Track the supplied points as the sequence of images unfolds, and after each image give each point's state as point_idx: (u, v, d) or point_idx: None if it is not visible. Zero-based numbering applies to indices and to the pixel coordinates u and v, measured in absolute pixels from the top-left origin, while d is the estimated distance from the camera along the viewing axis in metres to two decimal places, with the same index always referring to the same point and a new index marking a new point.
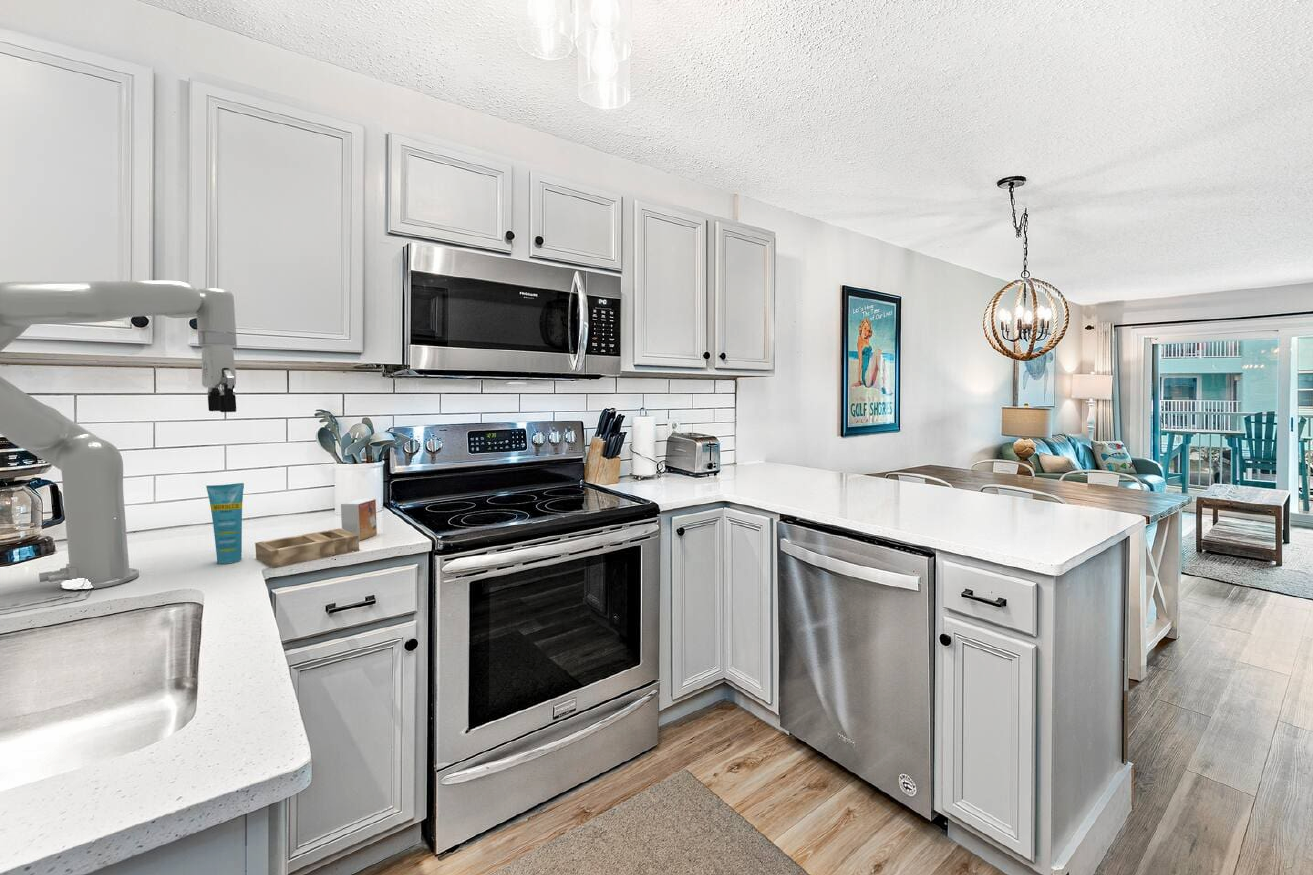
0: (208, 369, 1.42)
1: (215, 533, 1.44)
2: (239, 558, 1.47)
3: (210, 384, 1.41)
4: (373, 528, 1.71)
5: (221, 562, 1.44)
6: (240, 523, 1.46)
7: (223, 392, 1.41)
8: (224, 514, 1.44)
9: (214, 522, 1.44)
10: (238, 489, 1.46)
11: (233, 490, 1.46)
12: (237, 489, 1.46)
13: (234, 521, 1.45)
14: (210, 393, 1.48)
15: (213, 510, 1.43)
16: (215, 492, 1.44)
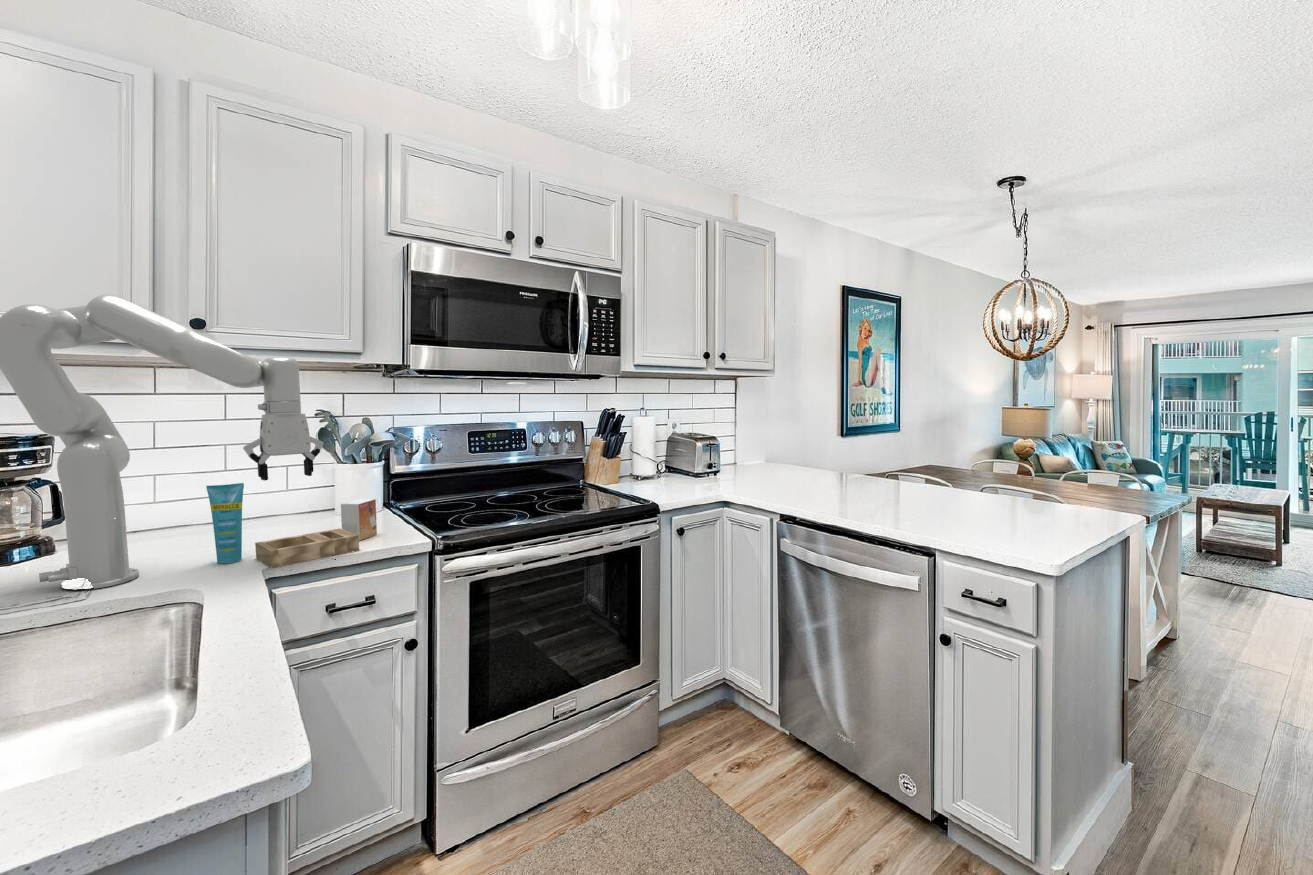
0: (299, 436, 1.47)
1: (215, 533, 1.44)
2: (239, 558, 1.47)
3: (304, 450, 1.48)
4: (373, 528, 1.71)
5: (221, 562, 1.44)
6: (240, 523, 1.46)
7: None
8: (224, 514, 1.44)
9: (214, 522, 1.44)
10: (238, 489, 1.46)
11: (233, 490, 1.46)
12: (237, 489, 1.46)
13: (234, 521, 1.45)
14: None
15: (213, 510, 1.43)
16: (215, 492, 1.44)
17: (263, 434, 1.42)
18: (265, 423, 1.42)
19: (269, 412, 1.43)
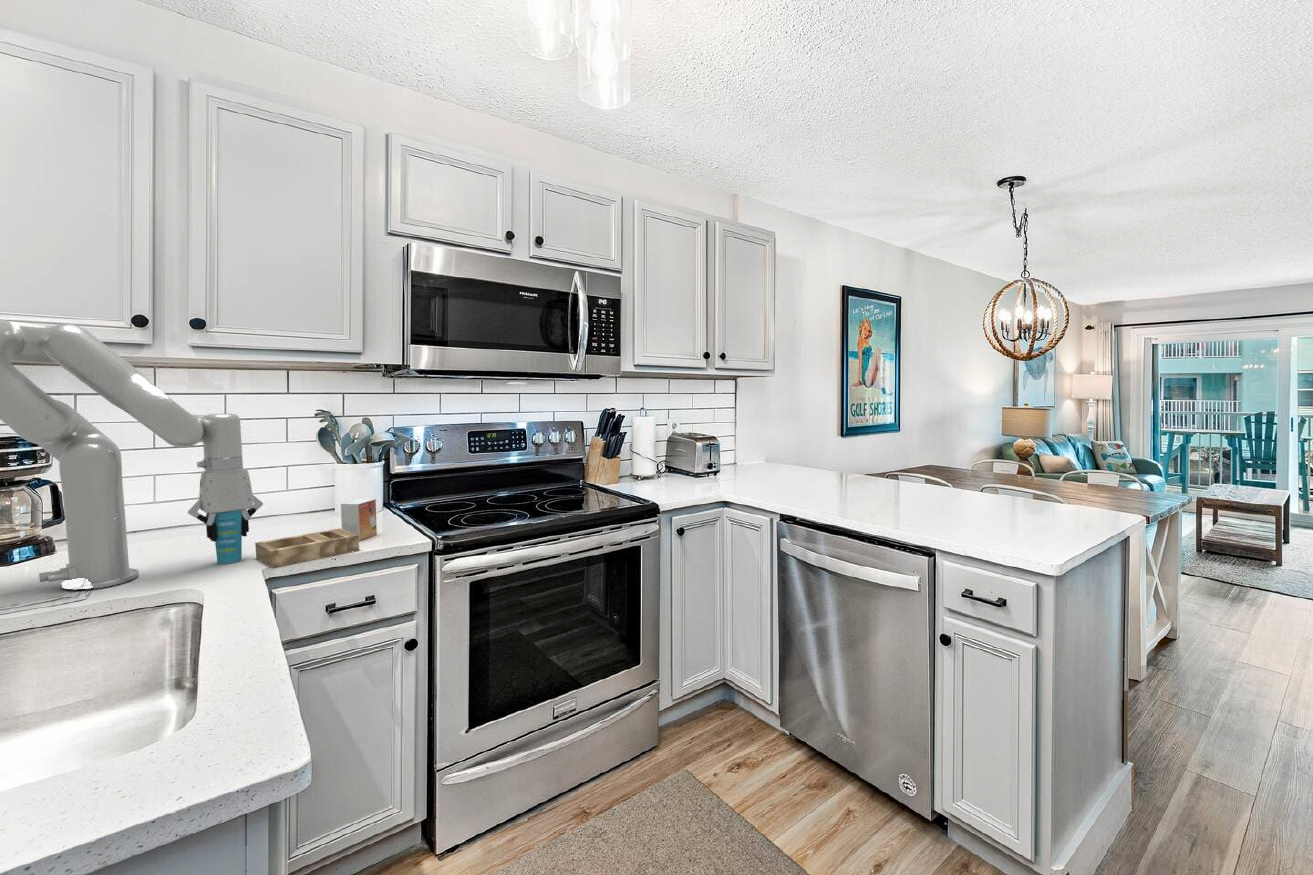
0: (240, 493, 1.45)
1: None
2: (239, 558, 1.47)
3: (245, 506, 1.46)
4: (373, 528, 1.71)
5: (221, 562, 1.44)
6: (240, 523, 1.46)
7: None
8: (224, 514, 1.44)
9: (214, 522, 1.44)
10: None
11: None
12: None
13: (234, 521, 1.45)
14: None
15: None
16: None
17: (202, 492, 1.40)
18: (204, 481, 1.40)
19: (208, 470, 1.41)
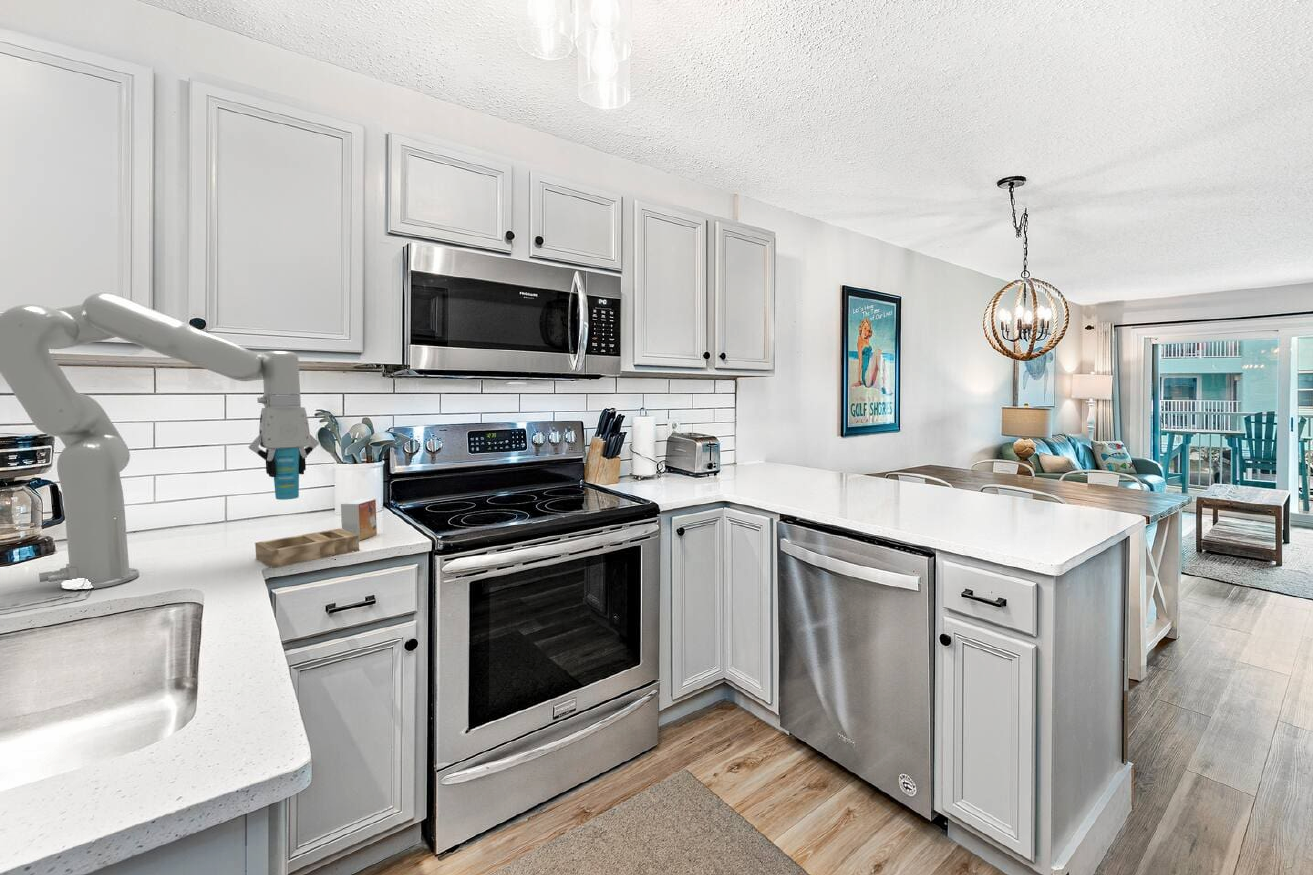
0: (299, 430, 1.47)
1: None
2: (297, 495, 1.48)
3: (303, 444, 1.48)
4: (373, 528, 1.71)
5: (280, 498, 1.46)
6: (298, 460, 1.48)
7: None
8: (283, 450, 1.46)
9: (273, 458, 1.45)
10: None
11: None
12: None
13: (292, 457, 1.47)
14: None
15: None
16: None
17: (263, 427, 1.42)
18: (265, 416, 1.42)
19: (269, 405, 1.43)
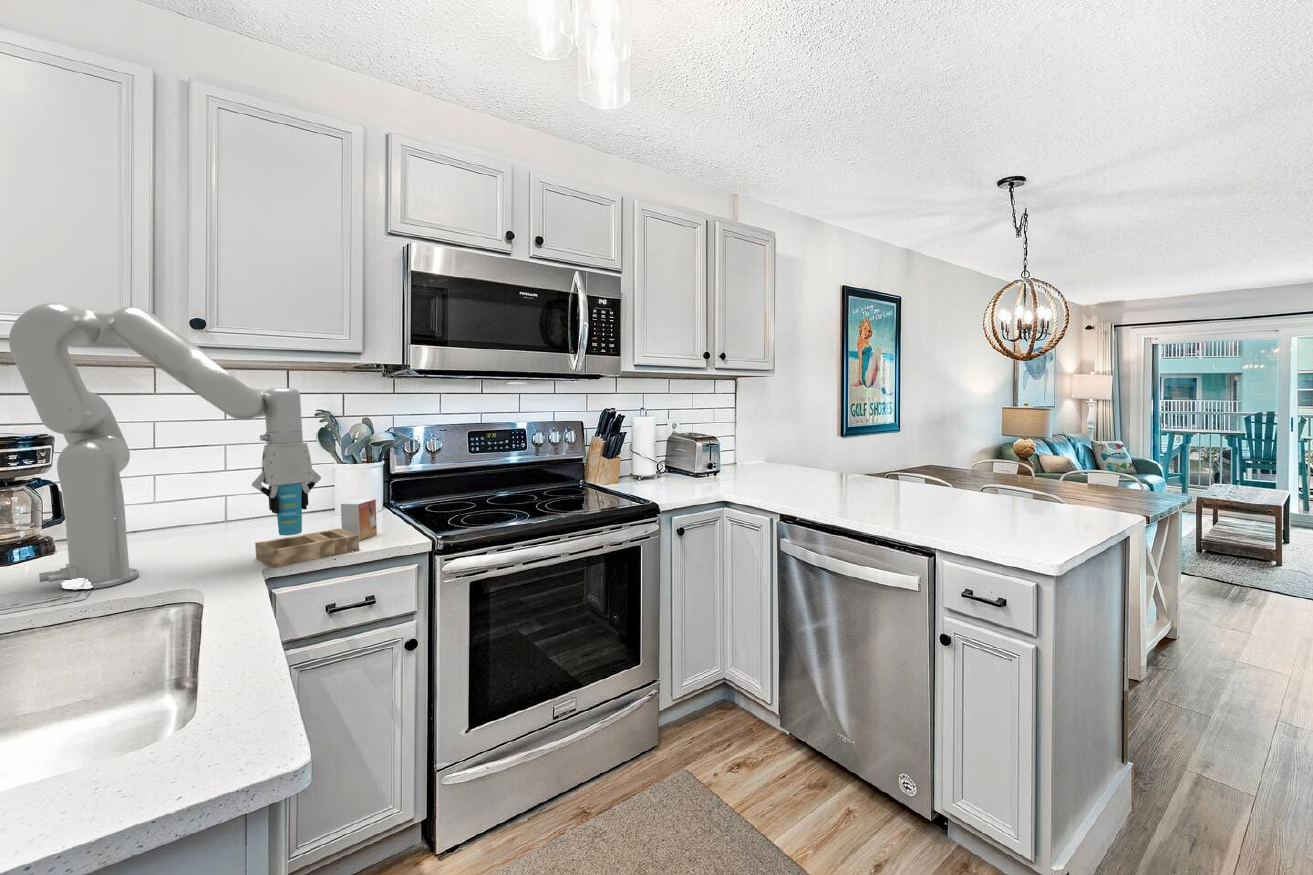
0: (301, 466, 1.48)
1: None
2: (300, 530, 1.49)
3: (306, 480, 1.48)
4: (373, 528, 1.71)
5: (283, 534, 1.47)
6: (300, 496, 1.49)
7: None
8: (286, 486, 1.47)
9: (276, 495, 1.46)
10: None
11: None
12: None
13: (295, 493, 1.48)
14: None
15: None
16: None
17: (265, 465, 1.43)
18: (267, 454, 1.43)
19: (271, 443, 1.43)
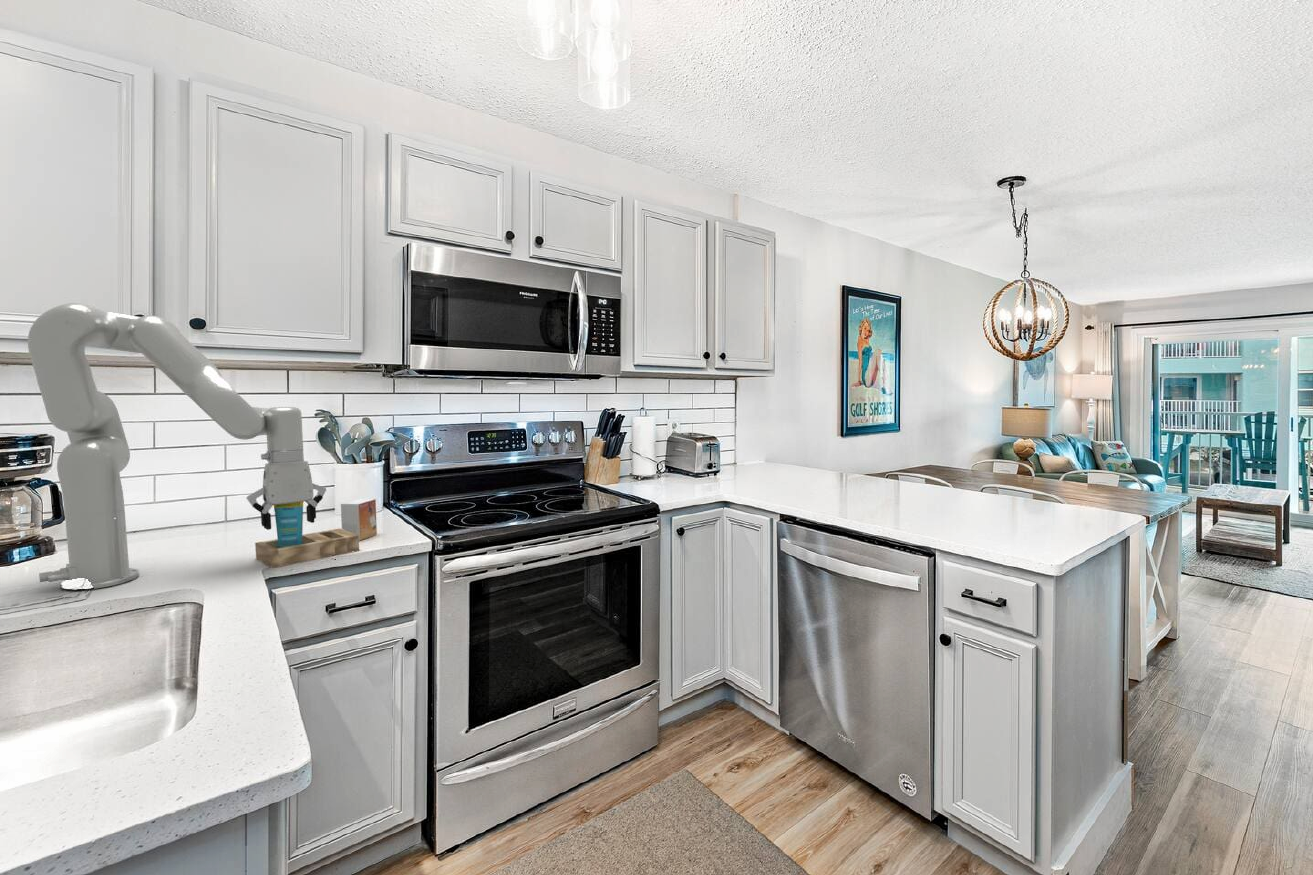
0: (302, 484, 1.48)
1: (278, 530, 1.47)
2: None
3: (306, 498, 1.49)
4: (373, 528, 1.71)
5: None
6: (301, 520, 1.49)
7: None
8: (287, 511, 1.47)
9: (277, 519, 1.47)
10: None
11: None
12: None
13: (296, 518, 1.48)
14: None
15: (276, 507, 1.46)
16: None
17: (266, 484, 1.43)
18: (268, 473, 1.43)
19: (272, 462, 1.44)
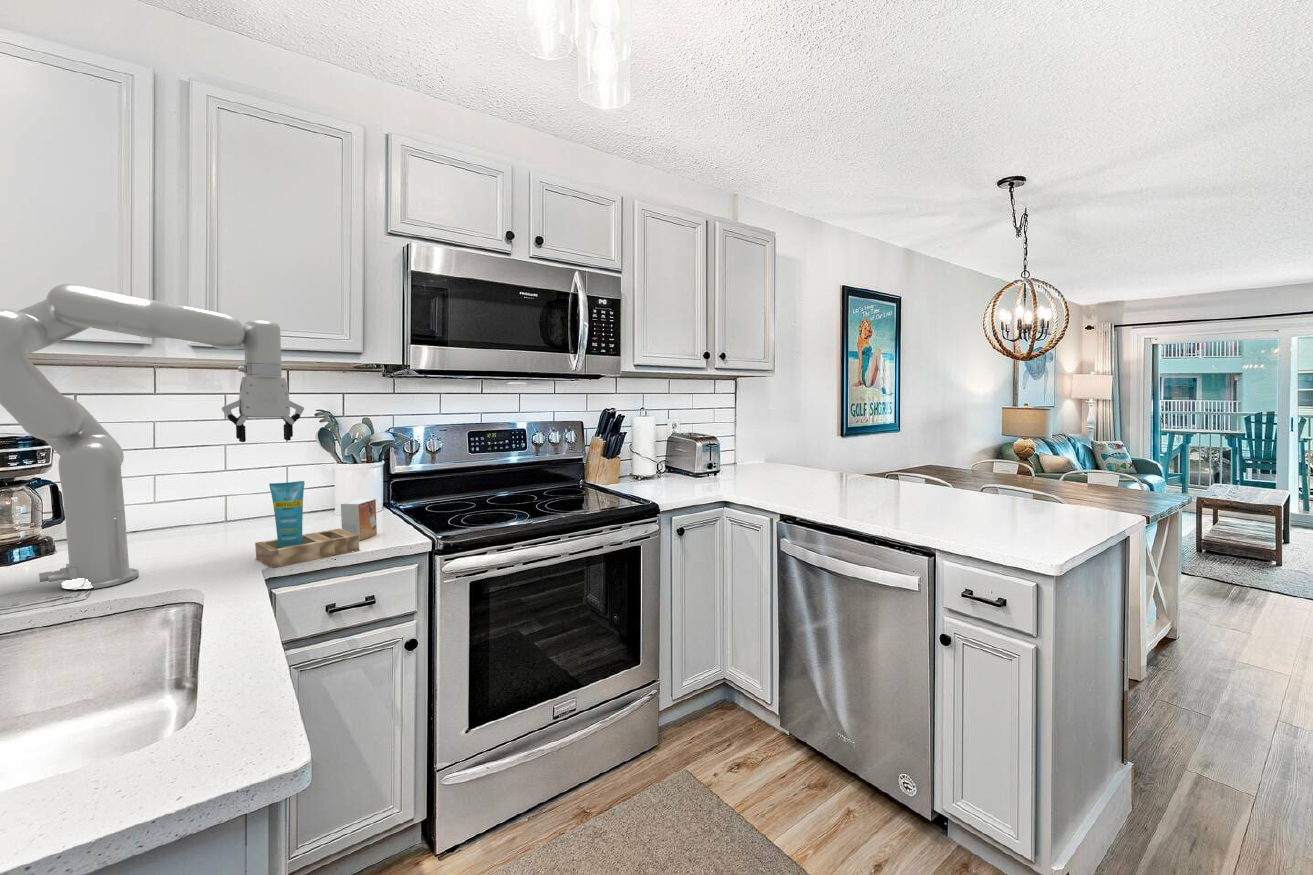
0: (278, 400, 1.47)
1: (278, 530, 1.47)
2: None
3: (283, 414, 1.48)
4: (373, 528, 1.71)
5: None
6: (301, 520, 1.49)
7: None
8: (286, 511, 1.47)
9: (277, 519, 1.47)
10: (299, 487, 1.49)
11: (294, 487, 1.49)
12: (298, 487, 1.49)
13: (295, 518, 1.48)
14: None
15: (276, 507, 1.46)
16: (277, 490, 1.47)
17: (242, 395, 1.43)
18: (244, 385, 1.43)
19: (248, 374, 1.44)
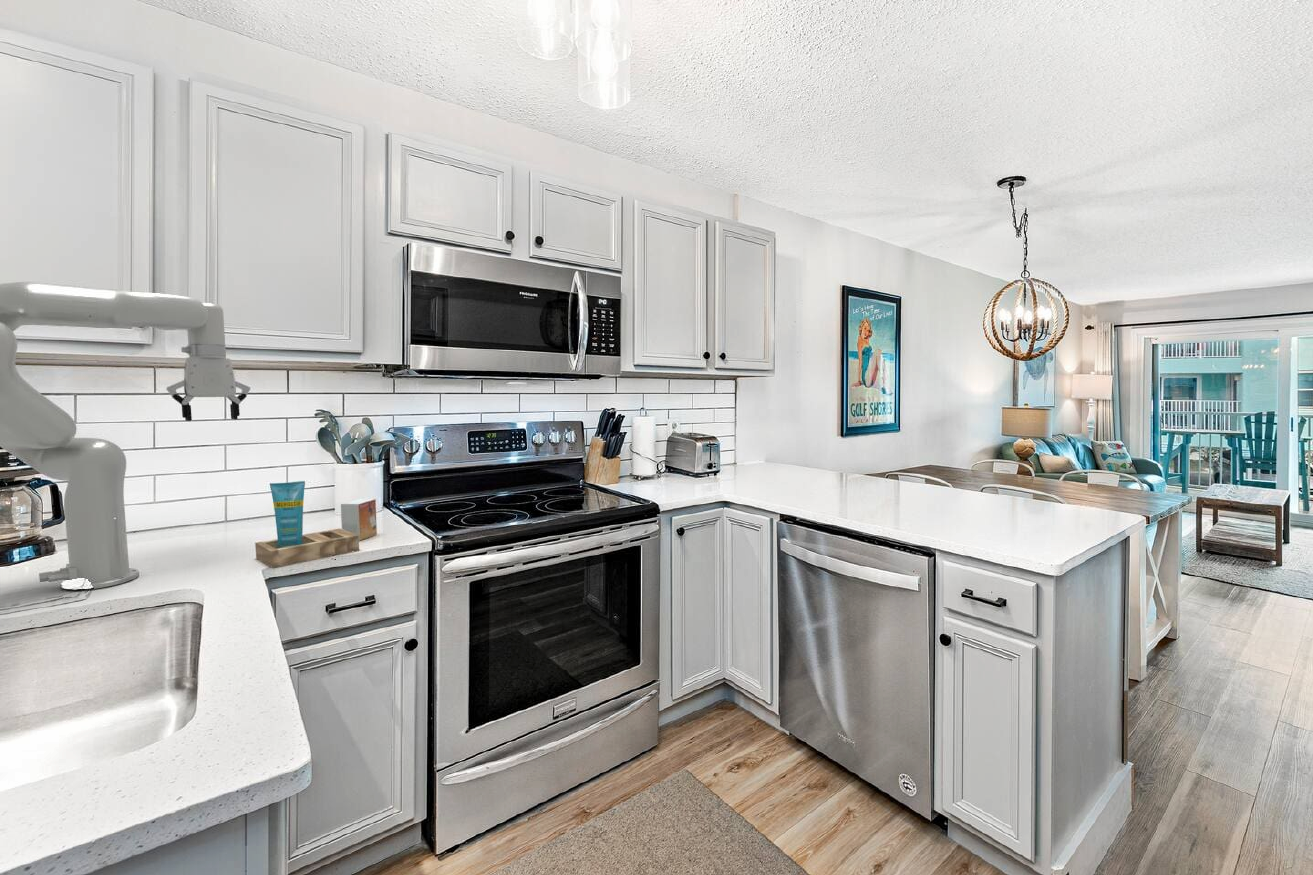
0: (223, 380, 1.52)
1: (278, 530, 1.47)
2: None
3: (228, 394, 1.53)
4: (373, 528, 1.71)
5: None
6: (301, 520, 1.49)
7: None
8: (287, 511, 1.47)
9: (277, 519, 1.47)
10: (299, 487, 1.49)
11: (295, 487, 1.49)
12: (299, 487, 1.49)
13: (296, 518, 1.48)
14: None
15: (276, 507, 1.46)
16: (278, 490, 1.47)
17: (186, 376, 1.47)
18: (188, 365, 1.47)
19: (192, 355, 1.48)
